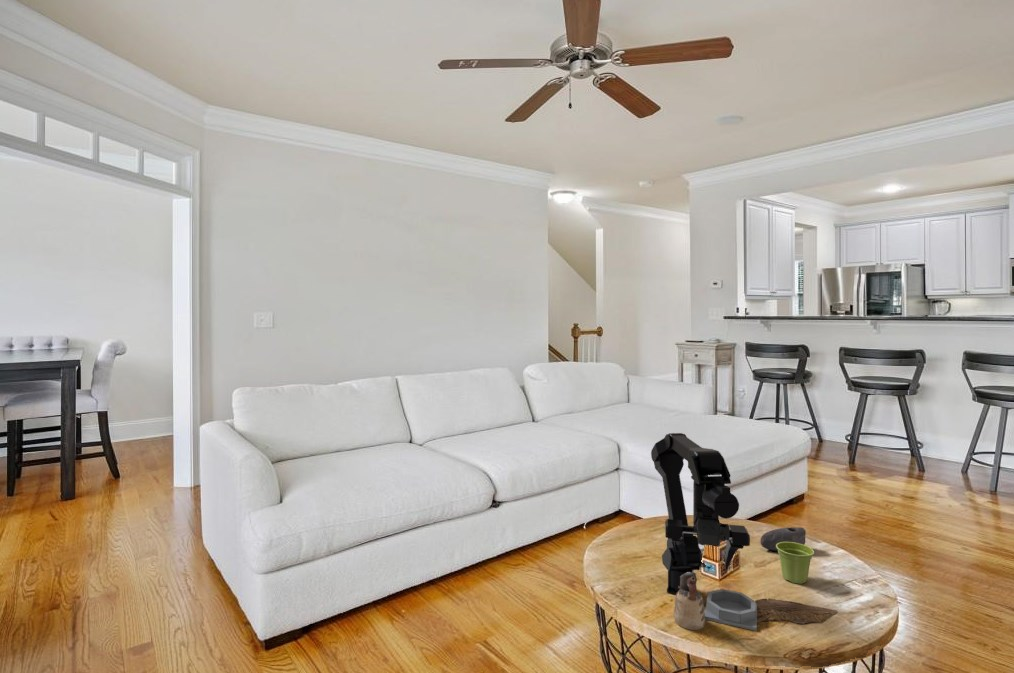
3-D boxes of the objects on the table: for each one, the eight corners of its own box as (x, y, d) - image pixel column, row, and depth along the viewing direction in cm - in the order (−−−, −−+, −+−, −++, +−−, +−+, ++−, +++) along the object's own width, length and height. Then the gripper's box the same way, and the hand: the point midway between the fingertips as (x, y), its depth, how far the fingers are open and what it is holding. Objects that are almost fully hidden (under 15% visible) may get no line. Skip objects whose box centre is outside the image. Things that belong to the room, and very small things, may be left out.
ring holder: (703, 619, 128) (703, 606, 128) (708, 596, 138) (708, 585, 138) (756, 631, 123) (756, 618, 123) (757, 606, 133) (757, 595, 133)
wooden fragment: (740, 622, 127) (740, 618, 127) (725, 599, 138) (725, 595, 138) (852, 628, 124) (852, 624, 124) (828, 603, 135) (828, 599, 135)
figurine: (701, 614, 130) (701, 566, 130) (708, 631, 123) (708, 580, 123) (671, 613, 131) (671, 565, 130) (676, 629, 124) (677, 578, 123)
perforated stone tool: (764, 554, 164) (764, 531, 164) (756, 546, 169) (756, 525, 169) (812, 553, 164) (812, 531, 164) (802, 546, 169) (802, 524, 169)
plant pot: (771, 569, 153) (771, 540, 153) (807, 572, 151) (807, 542, 151) (781, 585, 144) (781, 554, 144) (819, 588, 142) (819, 556, 142)
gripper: (666, 511, 121) (666, 578, 121) (754, 518, 116) (754, 588, 116) (665, 495, 132) (664, 557, 132) (746, 502, 127) (745, 566, 127)
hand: (705, 567), depth 127 cm, fingers open, 9 cm apart
